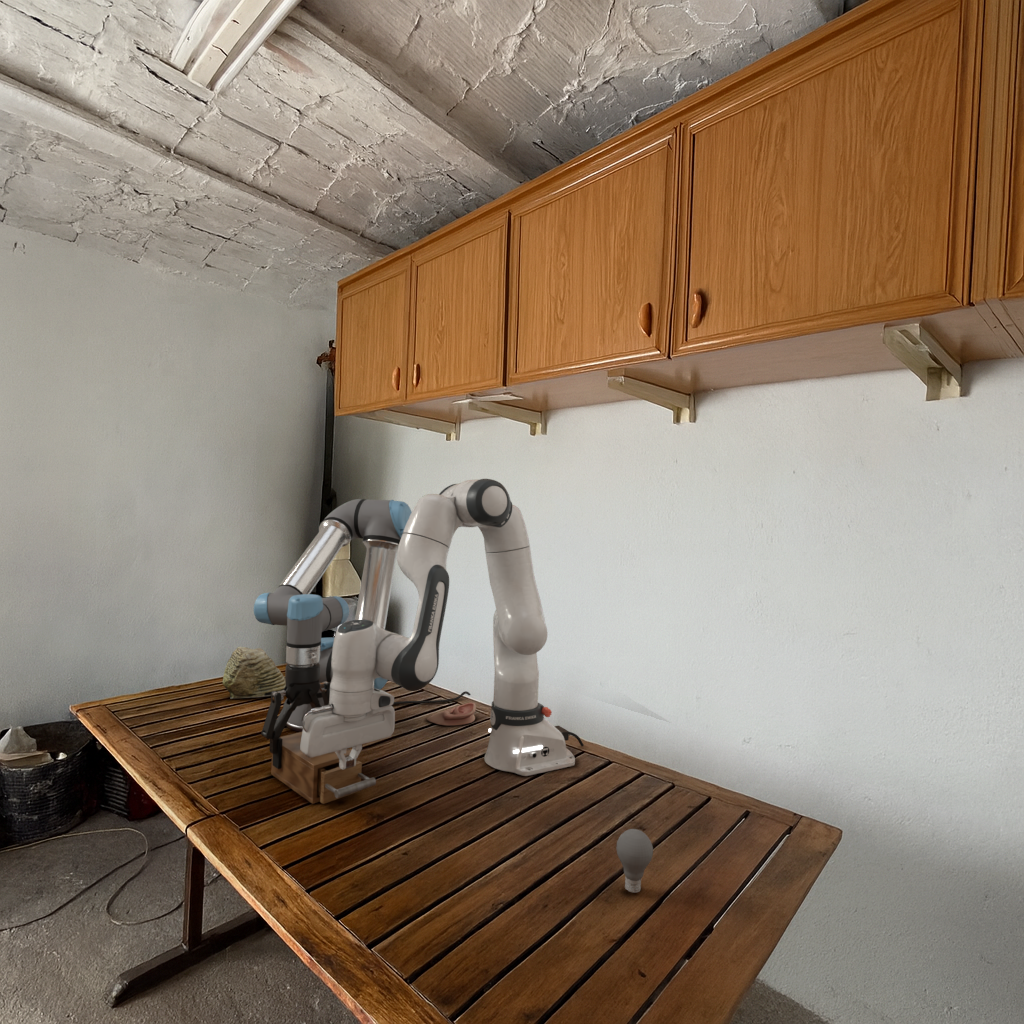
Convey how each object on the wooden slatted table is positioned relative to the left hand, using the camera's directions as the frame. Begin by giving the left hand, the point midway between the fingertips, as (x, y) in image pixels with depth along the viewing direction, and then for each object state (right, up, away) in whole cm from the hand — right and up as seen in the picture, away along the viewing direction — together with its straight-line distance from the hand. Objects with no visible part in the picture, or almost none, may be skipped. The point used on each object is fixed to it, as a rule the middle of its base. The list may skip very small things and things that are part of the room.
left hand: (299, 760), depth 145 cm
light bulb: (+69, -7, -39) cm, 79 cm away
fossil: (-32, -1, +54) cm, 62 cm away
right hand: (+15, +4, -14) cm, 21 cm away
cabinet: (+4, -3, -4) cm, 7 cm away
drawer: (+9, -3, -8) cm, 13 cm away
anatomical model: (+31, -4, +39) cm, 50 cm away
